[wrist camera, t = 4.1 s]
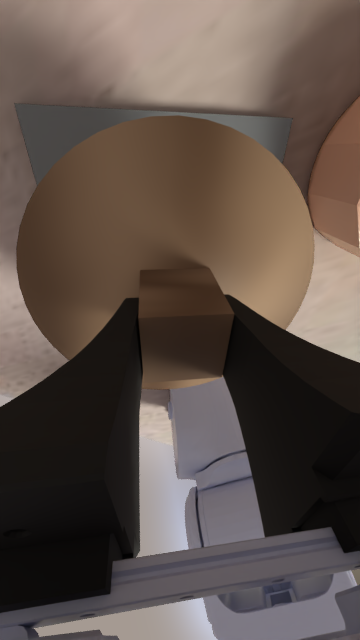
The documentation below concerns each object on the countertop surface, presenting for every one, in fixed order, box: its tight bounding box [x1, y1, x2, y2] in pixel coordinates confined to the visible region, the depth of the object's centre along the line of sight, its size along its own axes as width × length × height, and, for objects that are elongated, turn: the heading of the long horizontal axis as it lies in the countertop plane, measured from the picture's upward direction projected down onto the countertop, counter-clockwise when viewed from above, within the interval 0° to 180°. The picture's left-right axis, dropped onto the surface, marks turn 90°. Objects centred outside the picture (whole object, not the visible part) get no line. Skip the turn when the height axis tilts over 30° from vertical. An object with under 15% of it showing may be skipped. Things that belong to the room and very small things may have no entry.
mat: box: [14, 103, 293, 186], centre depth 17 cm, size 15×15×1 cm
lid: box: [17, 115, 314, 390], centre depth 10 cm, size 13×13×4 cm
